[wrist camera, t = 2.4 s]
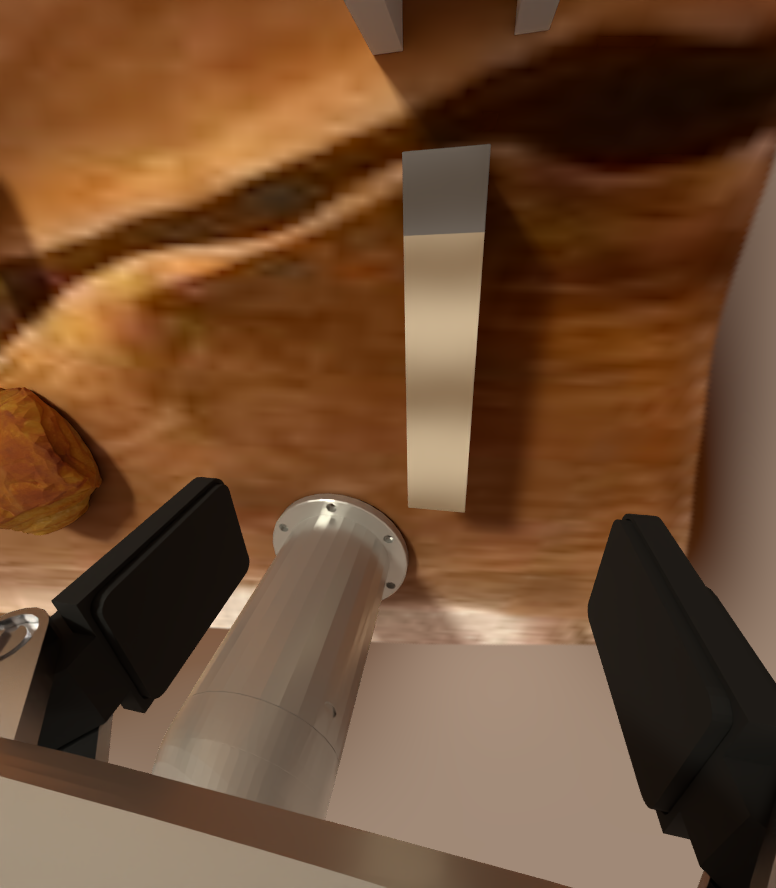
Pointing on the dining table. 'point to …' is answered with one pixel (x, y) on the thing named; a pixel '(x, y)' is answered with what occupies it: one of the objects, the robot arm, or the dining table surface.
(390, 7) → the post
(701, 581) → the robot arm
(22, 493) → the croissant
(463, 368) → the rail
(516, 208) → the dining table surface
